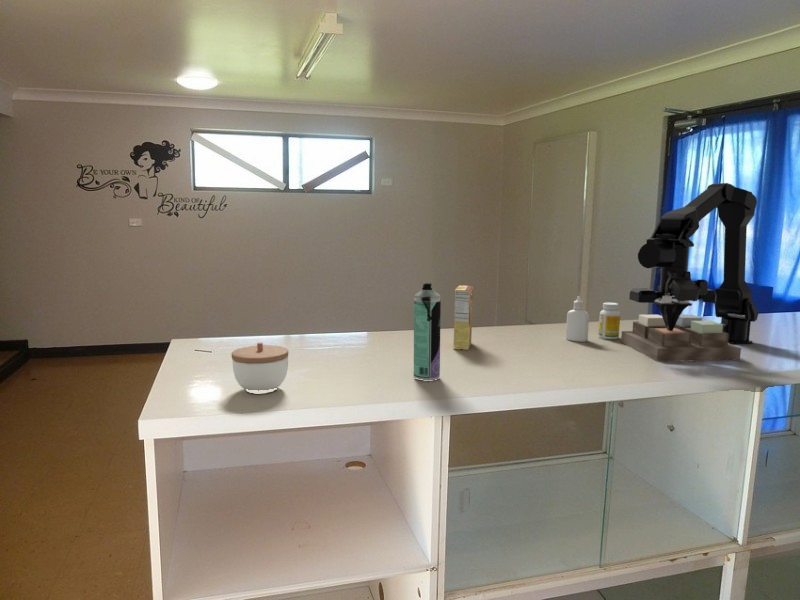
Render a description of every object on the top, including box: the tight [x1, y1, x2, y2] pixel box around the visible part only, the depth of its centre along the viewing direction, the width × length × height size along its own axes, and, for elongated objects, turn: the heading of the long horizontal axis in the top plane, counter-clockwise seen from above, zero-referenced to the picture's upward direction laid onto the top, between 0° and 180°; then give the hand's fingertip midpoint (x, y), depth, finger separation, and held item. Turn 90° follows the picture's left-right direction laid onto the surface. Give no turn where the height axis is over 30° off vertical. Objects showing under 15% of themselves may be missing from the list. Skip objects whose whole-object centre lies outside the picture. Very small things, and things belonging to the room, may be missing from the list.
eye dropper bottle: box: [565, 295, 590, 343], centre depth 159 cm, size 4×6×12 cm
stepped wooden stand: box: [620, 320, 742, 362], centre depth 147 cm, size 20×20×6 cm
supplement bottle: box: [598, 301, 621, 340], centre depth 162 cm, size 5×5×10 cm
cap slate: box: [676, 313, 703, 326], centre depth 151 cm, size 5×5×3 cm
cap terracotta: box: [655, 328, 685, 334], centre depth 142 cm, size 5×5×3 cm
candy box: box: [453, 285, 474, 351], centre depth 151 cm, size 9×4×15 cm, turn 169°
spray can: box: [413, 282, 442, 380], centre depth 122 cm, size 6×6×20 cm
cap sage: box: [691, 320, 723, 333], centre depth 143 cm, size 5×5×3 cm
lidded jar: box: [231, 341, 289, 391], centre depth 114 cm, size 11×11×9 cm
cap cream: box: [638, 314, 666, 326], centre depth 151 cm, size 5×5×3 cm
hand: (669, 330), depth 142 cm, fingers closed, pressing on cap terracotta
